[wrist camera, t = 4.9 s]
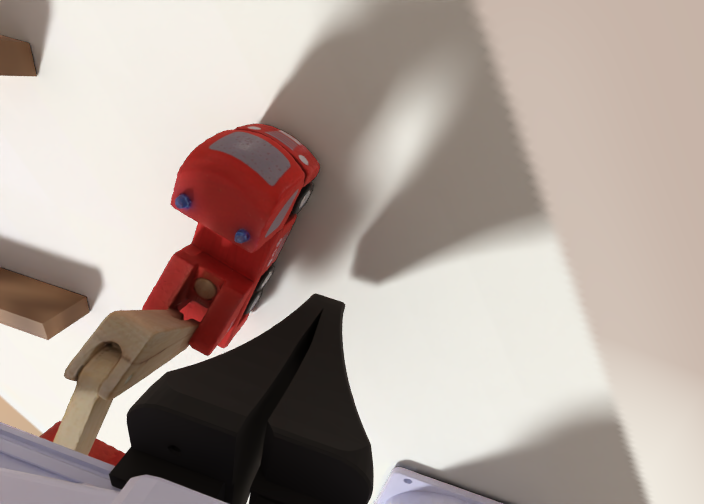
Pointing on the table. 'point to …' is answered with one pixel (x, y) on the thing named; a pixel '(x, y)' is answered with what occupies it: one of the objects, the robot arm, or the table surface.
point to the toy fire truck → (196, 273)
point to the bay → (18, 290)
